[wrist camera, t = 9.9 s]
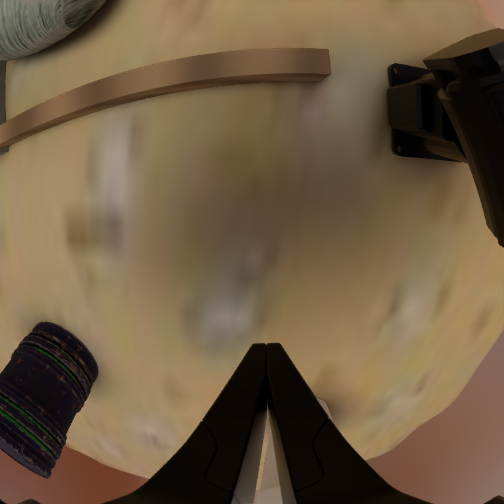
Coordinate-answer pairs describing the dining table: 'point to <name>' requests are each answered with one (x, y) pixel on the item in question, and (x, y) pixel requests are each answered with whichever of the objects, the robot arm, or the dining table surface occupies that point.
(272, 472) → the foam cup
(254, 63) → the guide rails
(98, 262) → the dining table surface
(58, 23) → the spool
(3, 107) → the end stop
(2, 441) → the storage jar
